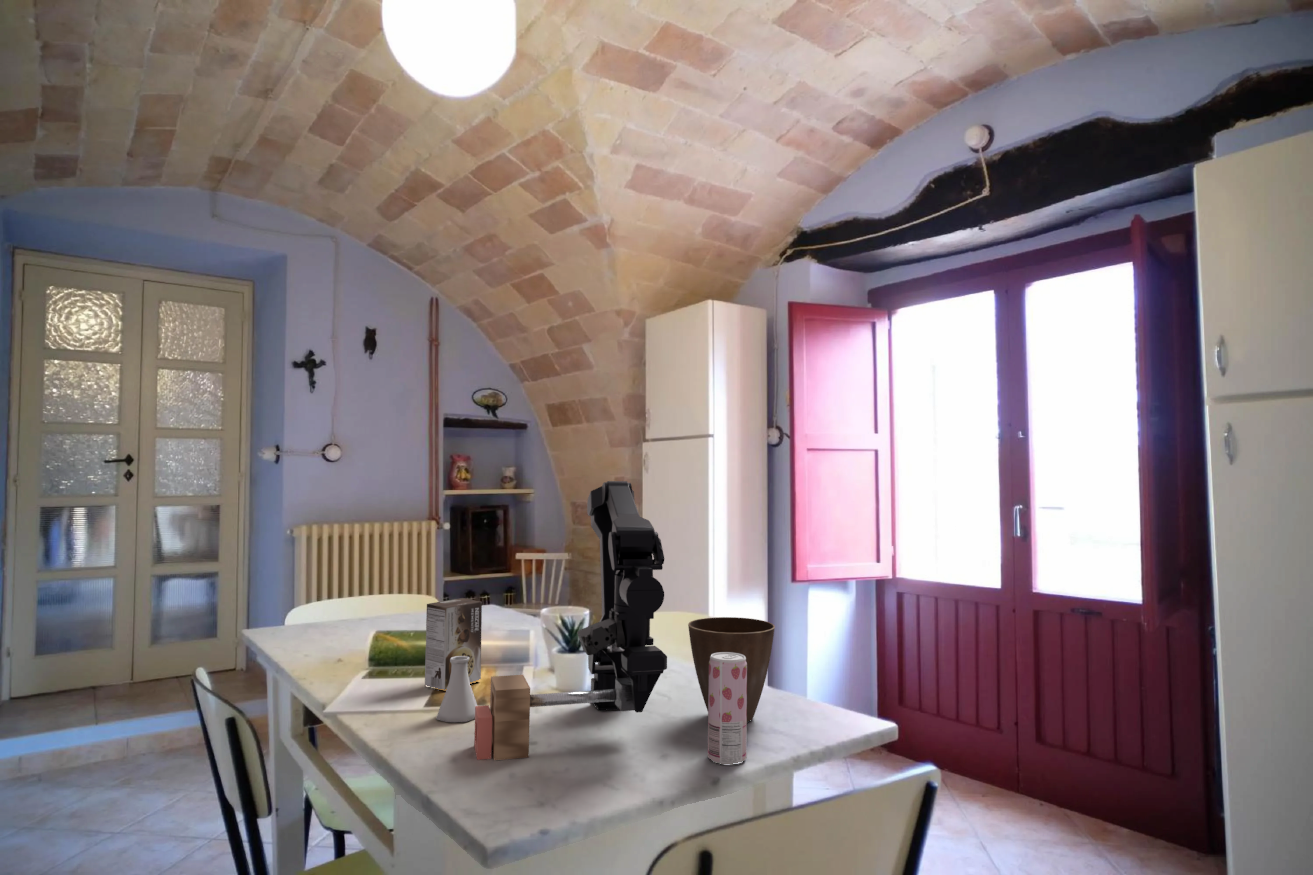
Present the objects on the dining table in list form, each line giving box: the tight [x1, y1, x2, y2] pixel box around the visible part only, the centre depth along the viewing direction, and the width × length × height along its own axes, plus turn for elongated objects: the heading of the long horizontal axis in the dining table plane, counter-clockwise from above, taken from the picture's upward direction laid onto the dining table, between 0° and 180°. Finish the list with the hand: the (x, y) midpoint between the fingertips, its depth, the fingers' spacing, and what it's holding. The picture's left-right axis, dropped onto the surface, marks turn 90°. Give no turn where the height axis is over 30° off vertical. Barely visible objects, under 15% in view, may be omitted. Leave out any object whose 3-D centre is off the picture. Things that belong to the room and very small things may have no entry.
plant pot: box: [687, 616, 776, 723], centre depth 135 cm, size 15×15×16 cm
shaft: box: [530, 678, 635, 712], centre depth 120 cm, size 20×4×4 cm, turn 107°
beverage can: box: [707, 652, 748, 764], centre depth 115 cm, size 6×6×15 cm
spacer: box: [473, 704, 492, 761], centre depth 116 cm, size 2×6×6 cm, turn 17°
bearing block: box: [489, 674, 531, 761], centre depth 117 cm, size 5×8×10 cm, turn 17°
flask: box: [435, 656, 479, 723], centre depth 133 cm, size 7×7×10 cm
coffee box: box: [424, 597, 483, 690], centre depth 153 cm, size 9×6×16 cm
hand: (630, 703), depth 123 cm, fingers open, 9 cm apart
